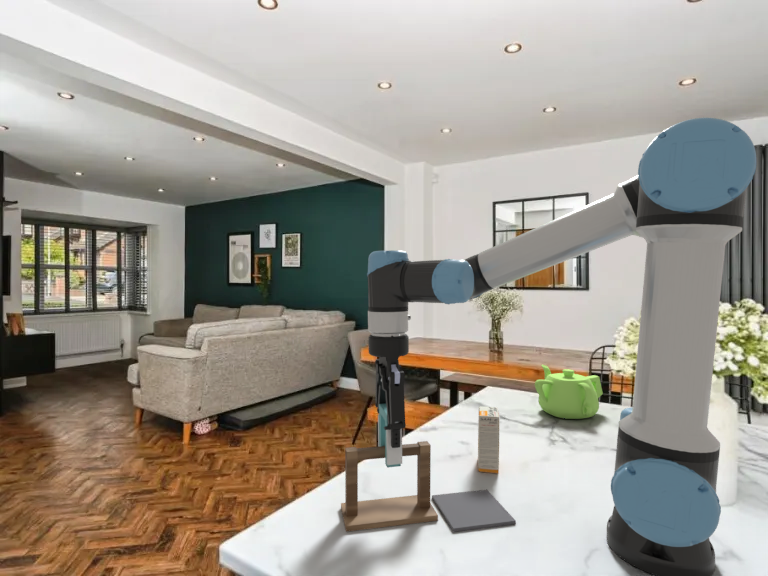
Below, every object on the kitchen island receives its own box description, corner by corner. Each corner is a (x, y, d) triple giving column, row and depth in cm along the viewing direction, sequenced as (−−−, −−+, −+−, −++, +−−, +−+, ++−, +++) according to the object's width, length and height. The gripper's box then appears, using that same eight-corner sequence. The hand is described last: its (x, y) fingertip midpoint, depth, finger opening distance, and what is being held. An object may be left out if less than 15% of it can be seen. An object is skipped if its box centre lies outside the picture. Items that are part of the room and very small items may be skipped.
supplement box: (499, 474, 101) (500, 417, 100) (478, 472, 102) (478, 415, 101) (497, 459, 109) (498, 406, 109) (477, 457, 110) (478, 405, 109)
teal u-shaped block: (400, 466, 80) (400, 413, 80) (387, 467, 80) (386, 414, 79) (391, 451, 87) (391, 402, 87) (379, 452, 87) (378, 403, 86)
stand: (437, 520, 82) (438, 450, 81) (346, 531, 78) (346, 458, 78) (424, 499, 90) (425, 435, 89) (341, 508, 86) (340, 442, 86)
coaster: (515, 523, 81) (515, 520, 81) (453, 531, 78) (453, 528, 78) (486, 492, 92) (486, 489, 92) (431, 498, 90) (431, 495, 90)
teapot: (594, 426, 132) (595, 379, 132) (527, 415, 143) (527, 371, 143) (602, 410, 148) (603, 367, 148) (541, 401, 159) (541, 361, 158)
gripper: (423, 340, 74) (424, 476, 74) (395, 327, 93) (396, 435, 94) (379, 341, 72) (380, 480, 73) (360, 328, 92) (361, 438, 92)
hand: (389, 455), depth 83 cm, fingers closed on teal u-shaped block, 7 cm apart
